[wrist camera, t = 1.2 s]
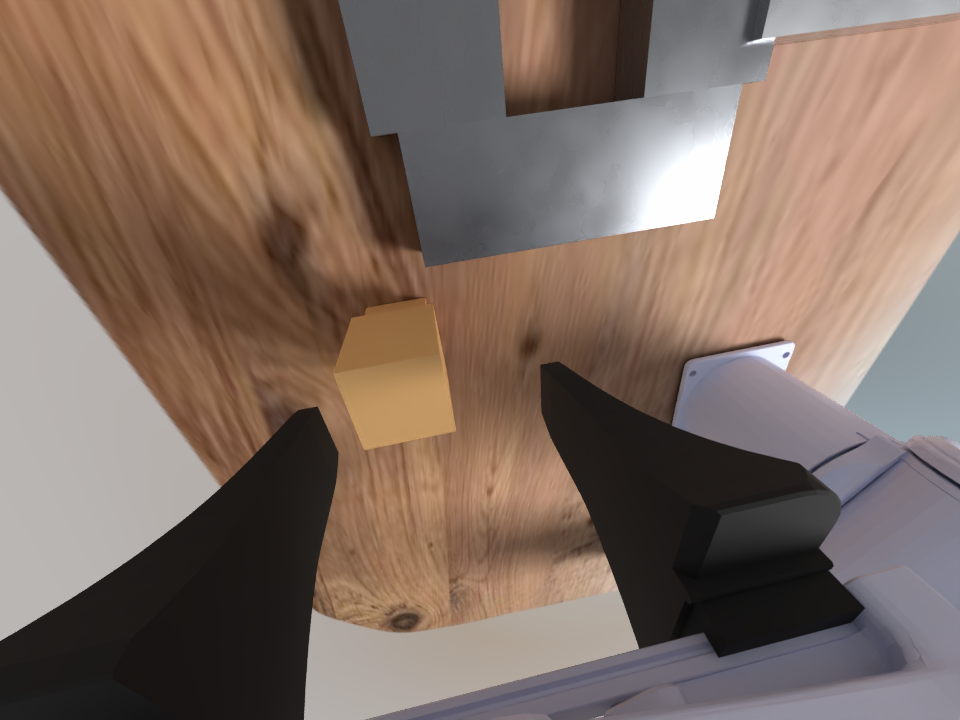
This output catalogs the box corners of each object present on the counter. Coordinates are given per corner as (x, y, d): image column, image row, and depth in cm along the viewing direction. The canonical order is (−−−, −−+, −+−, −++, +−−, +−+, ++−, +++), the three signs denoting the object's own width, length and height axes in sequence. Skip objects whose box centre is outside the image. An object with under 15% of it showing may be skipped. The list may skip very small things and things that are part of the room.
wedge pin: (443, 352, 22) (456, 431, 16) (376, 364, 21) (364, 450, 16) (431, 289, 20) (439, 353, 14) (356, 302, 19) (332, 373, 13)
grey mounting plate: (881, 176, 20) (947, 181, 18) (404, 255, 18) (402, 274, 16) (1109, -364, 12) (1296, -498, 9) (268, -322, 10) (221, -479, 7)
